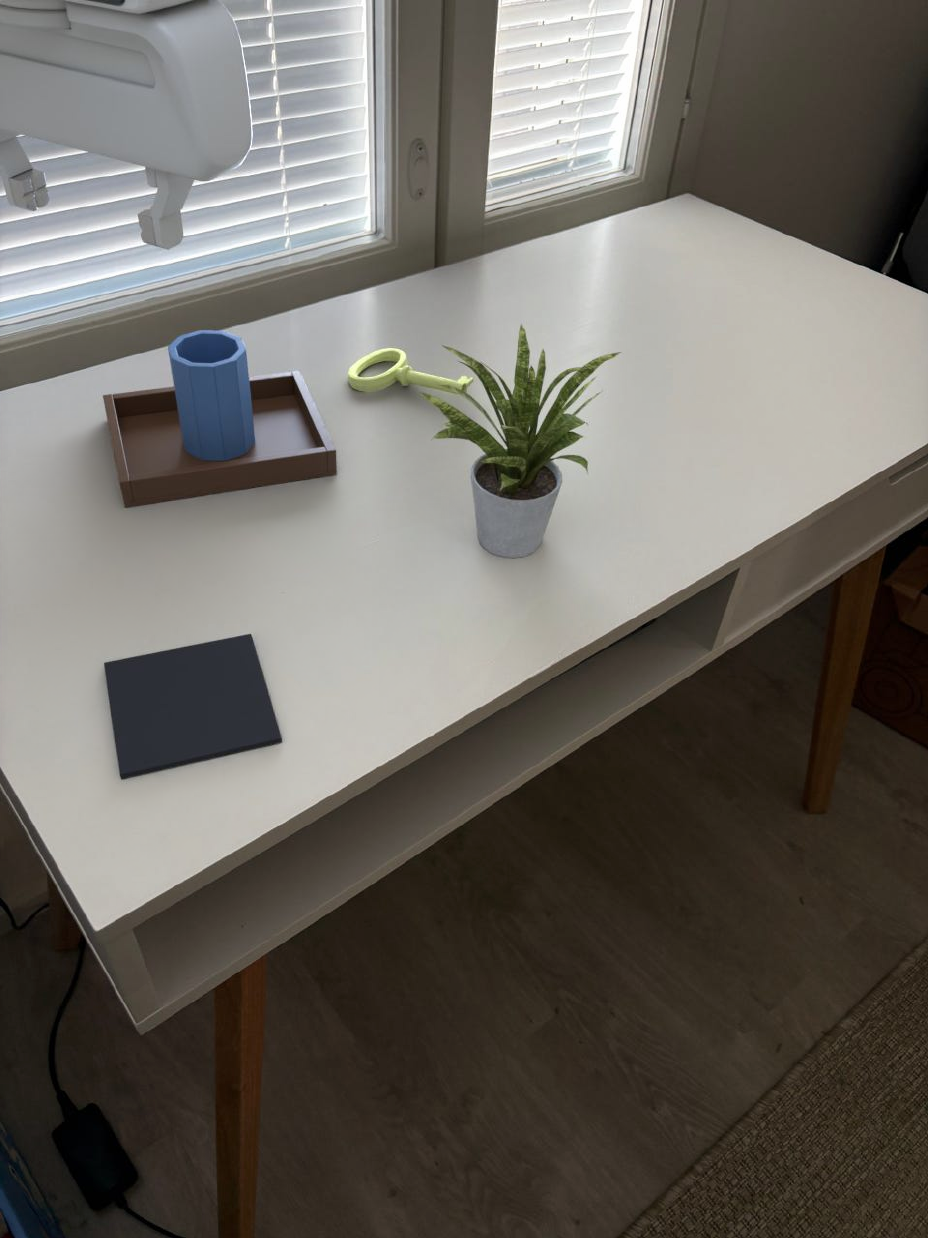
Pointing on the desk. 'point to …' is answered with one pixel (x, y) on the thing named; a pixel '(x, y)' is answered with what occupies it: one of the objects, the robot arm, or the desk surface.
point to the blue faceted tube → (212, 394)
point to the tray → (167, 472)
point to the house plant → (518, 450)
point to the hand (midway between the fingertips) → (95, 224)
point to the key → (398, 374)
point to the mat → (189, 705)
